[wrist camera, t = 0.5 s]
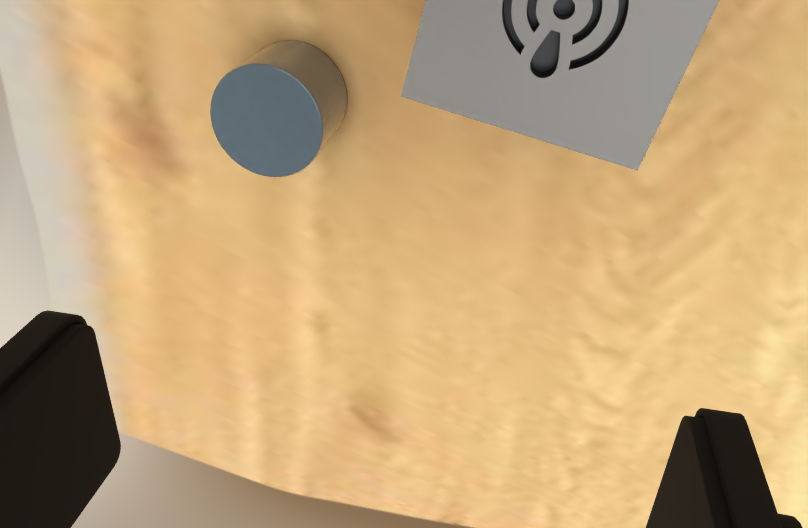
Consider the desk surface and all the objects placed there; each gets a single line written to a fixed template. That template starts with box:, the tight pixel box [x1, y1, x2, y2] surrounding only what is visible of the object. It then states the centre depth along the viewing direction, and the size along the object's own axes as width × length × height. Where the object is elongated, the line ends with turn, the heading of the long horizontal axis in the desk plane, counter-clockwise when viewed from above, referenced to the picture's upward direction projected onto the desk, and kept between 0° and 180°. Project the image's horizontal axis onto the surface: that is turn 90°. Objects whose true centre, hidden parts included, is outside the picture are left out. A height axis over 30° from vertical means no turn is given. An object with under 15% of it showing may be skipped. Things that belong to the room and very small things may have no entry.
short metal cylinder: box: [210, 41, 347, 177], centre depth 38 cm, size 6×6×5 cm
